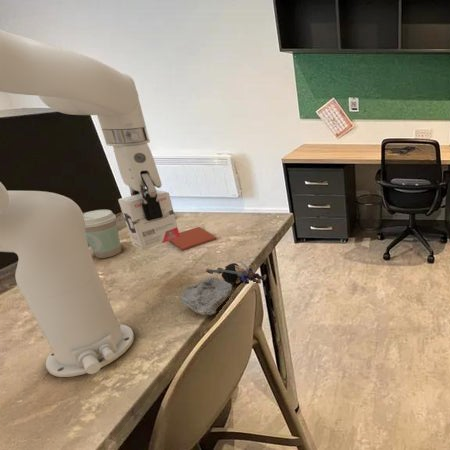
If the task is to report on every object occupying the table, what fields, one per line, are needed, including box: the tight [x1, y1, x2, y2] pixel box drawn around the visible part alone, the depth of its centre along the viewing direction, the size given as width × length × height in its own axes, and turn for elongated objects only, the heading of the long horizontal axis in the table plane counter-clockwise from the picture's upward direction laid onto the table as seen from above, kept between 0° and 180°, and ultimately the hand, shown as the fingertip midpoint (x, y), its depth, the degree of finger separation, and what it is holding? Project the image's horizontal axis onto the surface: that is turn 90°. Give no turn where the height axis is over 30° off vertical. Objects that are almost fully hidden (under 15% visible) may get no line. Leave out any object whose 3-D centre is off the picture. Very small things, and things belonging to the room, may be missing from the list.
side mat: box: [169, 226, 217, 251], centre depth 107 cm, size 12×10×1 cm
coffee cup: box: [82, 209, 123, 259], centre depth 95 cm, size 8×8×12 cm
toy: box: [205, 260, 267, 285], centre depth 85 cm, size 6×6×15 cm
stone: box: [180, 276, 233, 316], centre depth 76 cm, size 9×7×10 cm
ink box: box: [117, 189, 180, 251], centre depth 80 cm, size 8×5×12 cm, turn 152°
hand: (149, 214), depth 79 cm, fingers closed on ink box, 5 cm apart
